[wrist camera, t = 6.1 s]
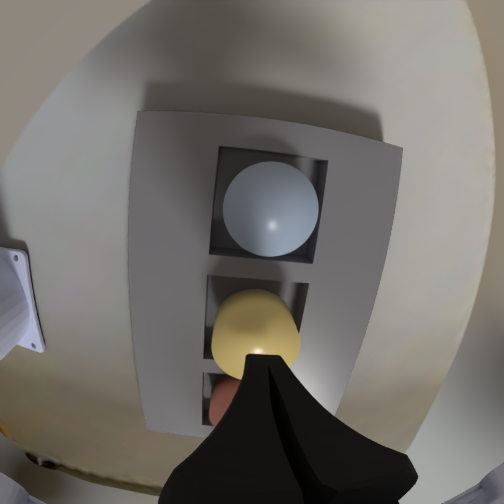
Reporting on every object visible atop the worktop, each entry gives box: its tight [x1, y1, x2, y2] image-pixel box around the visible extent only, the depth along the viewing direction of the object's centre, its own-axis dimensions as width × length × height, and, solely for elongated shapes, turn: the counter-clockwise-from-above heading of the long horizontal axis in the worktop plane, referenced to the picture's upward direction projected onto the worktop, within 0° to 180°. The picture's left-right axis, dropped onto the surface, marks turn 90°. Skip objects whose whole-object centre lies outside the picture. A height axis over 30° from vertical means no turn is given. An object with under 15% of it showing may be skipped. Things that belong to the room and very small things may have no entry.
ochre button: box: [211, 289, 300, 379], centre depth 13 cm, size 4×4×2 cm
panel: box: [128, 111, 403, 438], centre depth 15 cm, size 13×20×2 cm, turn 174°
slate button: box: [223, 161, 319, 257], centre depth 13 cm, size 4×4×2 cm
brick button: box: [209, 374, 241, 427], centre depth 16 cm, size 4×4×2 cm
